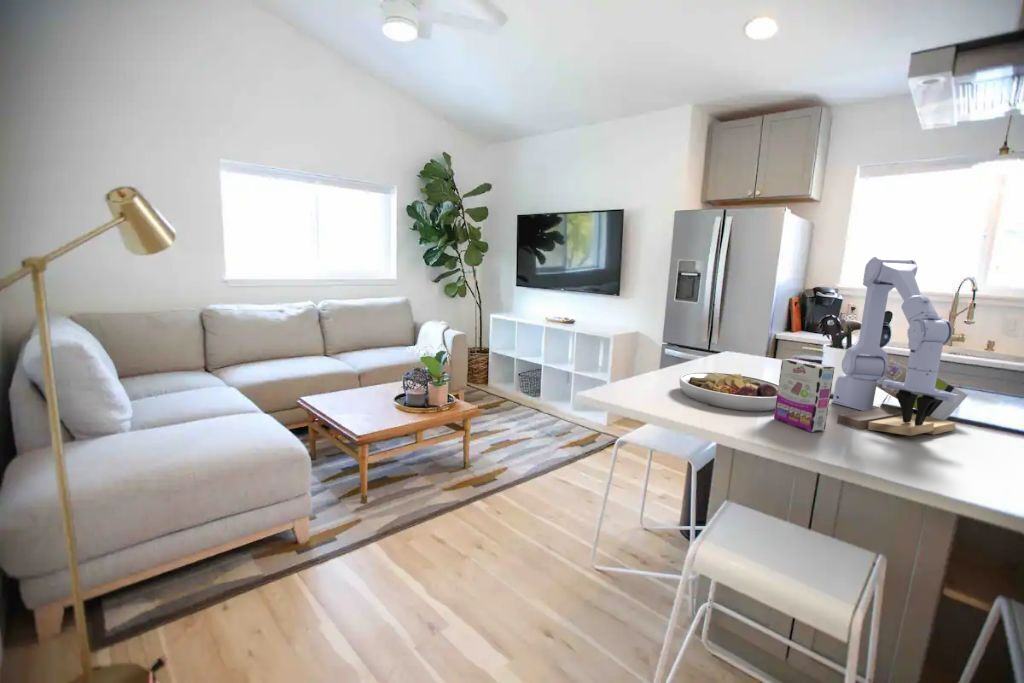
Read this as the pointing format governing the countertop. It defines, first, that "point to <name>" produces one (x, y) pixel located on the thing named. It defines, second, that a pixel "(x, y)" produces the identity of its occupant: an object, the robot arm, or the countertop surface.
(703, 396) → the bowl
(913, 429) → the plank
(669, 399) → the countertop surface
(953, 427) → the plank
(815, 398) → the candy bar box
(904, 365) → the tea box
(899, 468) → the countertop surface
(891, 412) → the floor board
